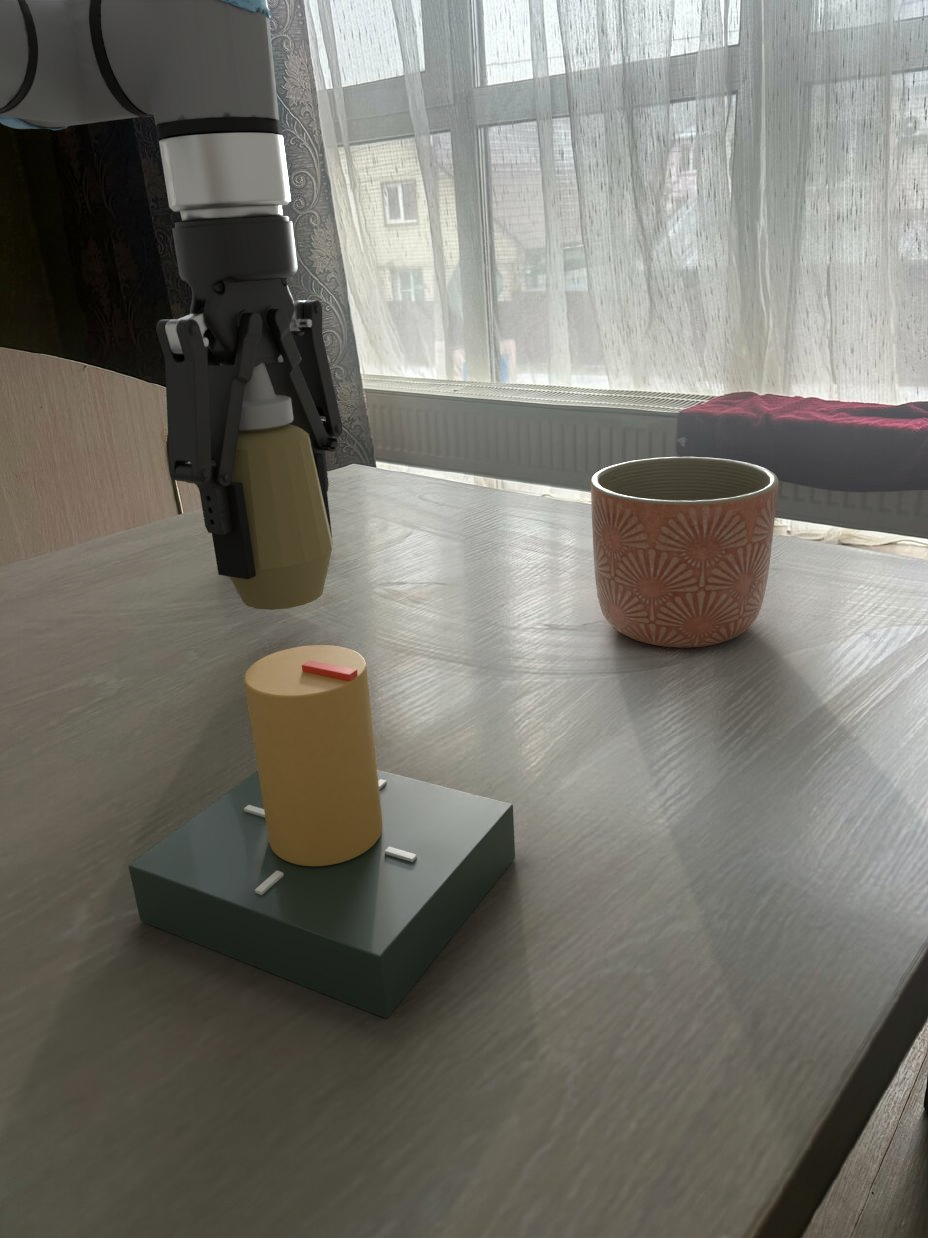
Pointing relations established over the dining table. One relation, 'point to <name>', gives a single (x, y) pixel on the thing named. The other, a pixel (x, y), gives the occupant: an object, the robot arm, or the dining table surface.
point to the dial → (315, 753)
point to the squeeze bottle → (279, 502)
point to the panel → (331, 889)
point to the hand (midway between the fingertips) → (278, 555)
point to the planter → (682, 547)
